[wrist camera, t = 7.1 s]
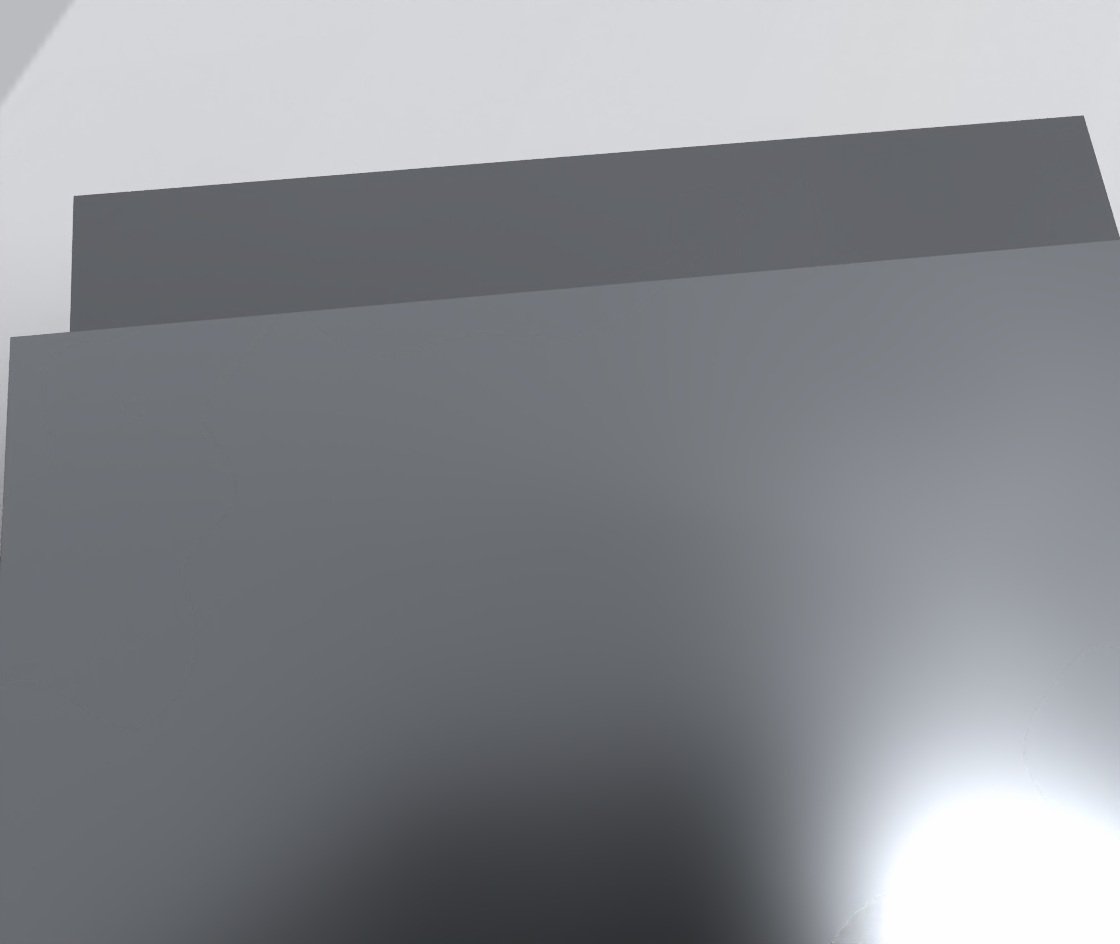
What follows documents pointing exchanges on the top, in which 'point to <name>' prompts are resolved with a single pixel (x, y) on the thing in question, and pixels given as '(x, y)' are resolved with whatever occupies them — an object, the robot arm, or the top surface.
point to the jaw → (576, 554)
